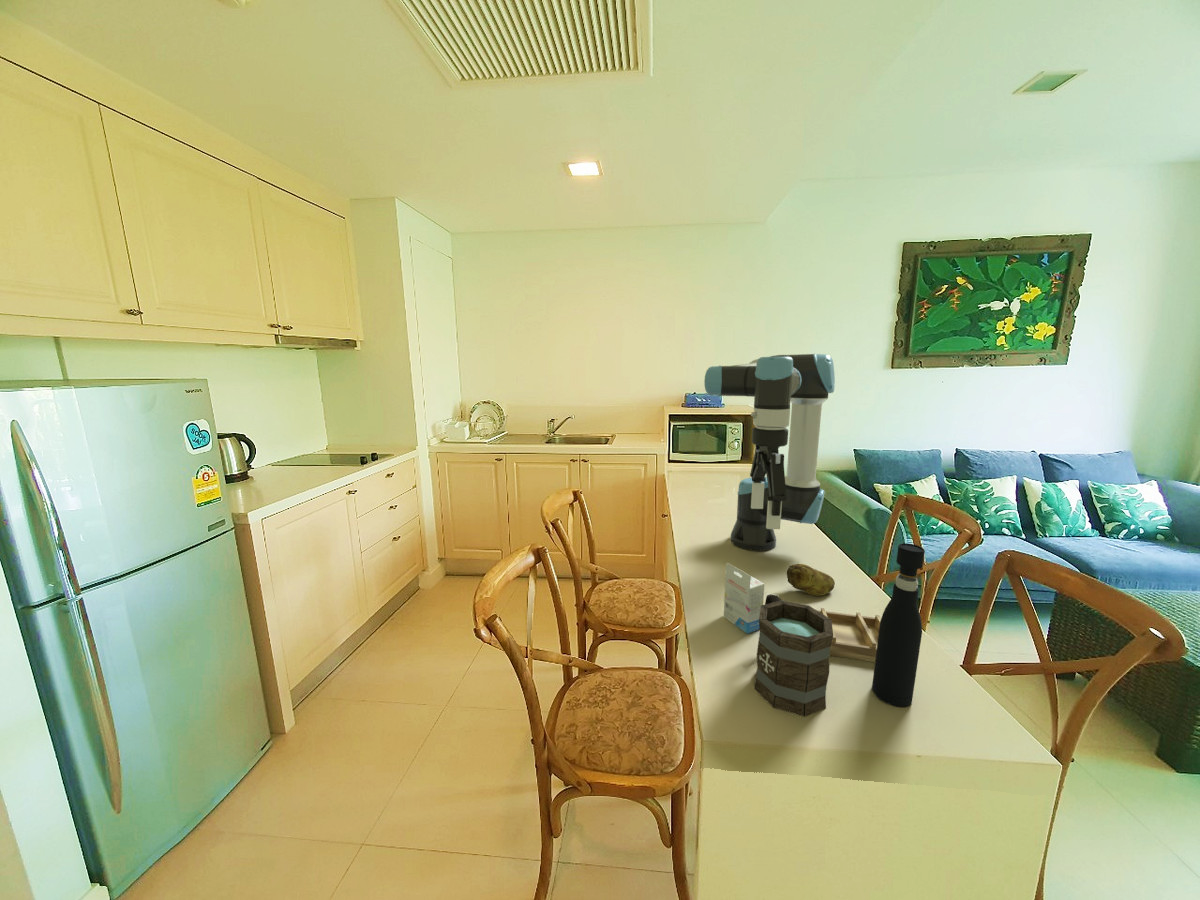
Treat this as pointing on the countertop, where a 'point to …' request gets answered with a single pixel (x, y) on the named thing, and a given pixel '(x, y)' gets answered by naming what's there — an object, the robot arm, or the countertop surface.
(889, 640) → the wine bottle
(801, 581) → the potato
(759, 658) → the mug
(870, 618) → the rack
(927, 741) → the countertop surface
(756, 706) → the countertop surface
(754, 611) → the ink box
